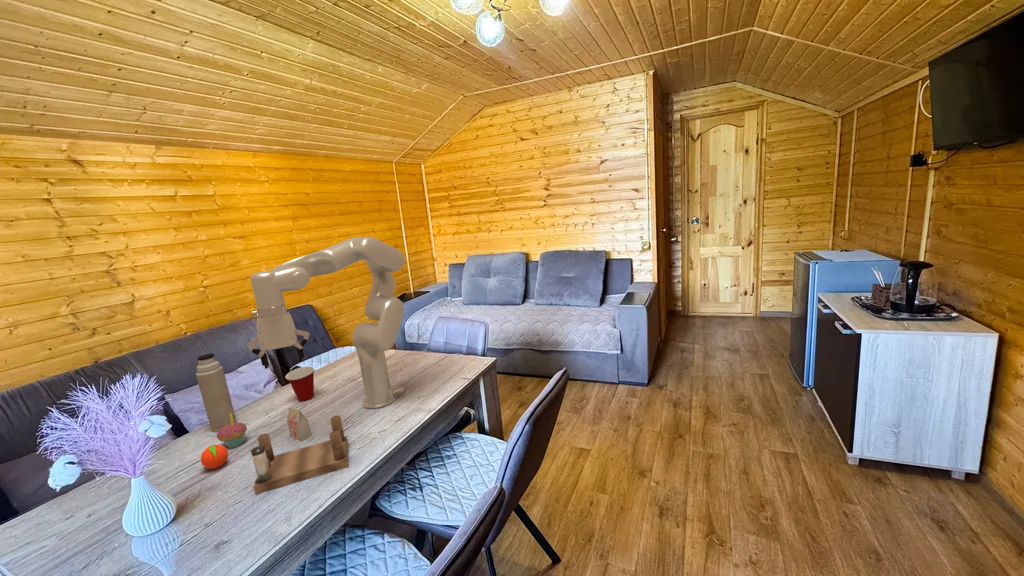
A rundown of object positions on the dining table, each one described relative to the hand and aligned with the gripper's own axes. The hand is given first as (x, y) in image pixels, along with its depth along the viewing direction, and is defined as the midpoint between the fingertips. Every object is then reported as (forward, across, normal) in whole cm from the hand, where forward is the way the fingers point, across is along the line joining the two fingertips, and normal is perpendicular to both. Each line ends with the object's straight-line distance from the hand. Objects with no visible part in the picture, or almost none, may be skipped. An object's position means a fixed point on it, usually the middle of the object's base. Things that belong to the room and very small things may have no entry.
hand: (284, 363), depth 131 cm
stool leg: (+25, -8, -17) cm, 31 cm away
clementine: (+28, -24, 0) cm, 37 cm away
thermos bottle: (+28, -29, +30) cm, 51 cm away
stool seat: (+28, +2, -14) cm, 32 cm away
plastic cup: (+28, -2, +38) cm, 48 cm away
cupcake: (+28, -22, +13) cm, 38 cm away
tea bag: (+29, -1, +6) cm, 29 cm away
